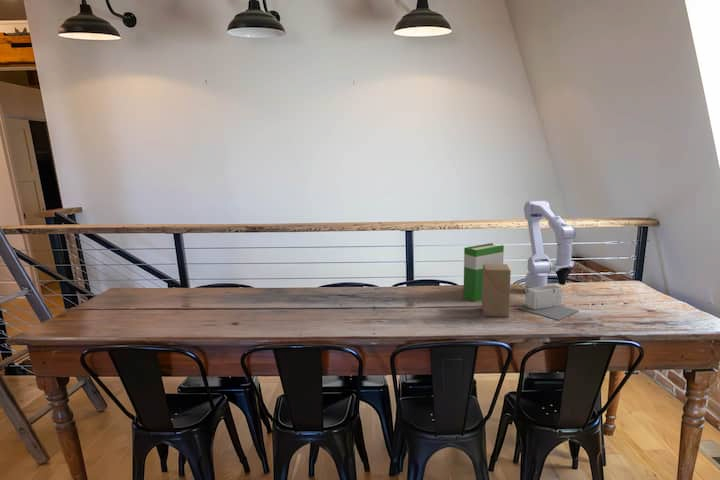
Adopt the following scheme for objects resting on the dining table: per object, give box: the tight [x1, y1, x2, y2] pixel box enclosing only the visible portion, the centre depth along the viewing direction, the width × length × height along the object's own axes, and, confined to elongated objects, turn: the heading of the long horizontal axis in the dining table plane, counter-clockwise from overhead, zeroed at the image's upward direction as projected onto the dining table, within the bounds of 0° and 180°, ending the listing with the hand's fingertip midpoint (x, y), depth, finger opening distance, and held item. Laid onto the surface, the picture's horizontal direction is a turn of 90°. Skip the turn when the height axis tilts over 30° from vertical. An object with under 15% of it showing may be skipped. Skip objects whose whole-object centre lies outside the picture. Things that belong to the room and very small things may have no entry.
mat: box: [518, 304, 580, 322], centre depth 184 cm, size 18×16×1 cm
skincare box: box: [525, 284, 564, 310], centre depth 188 cm, size 8×6×15 cm
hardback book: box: [463, 242, 505, 303], centre depth 203 cm, size 18×7×24 cm, turn 120°
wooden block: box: [481, 263, 512, 318], centre depth 181 cm, size 10×10×20 cm
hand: (562, 284), depth 188 cm, fingers closed
